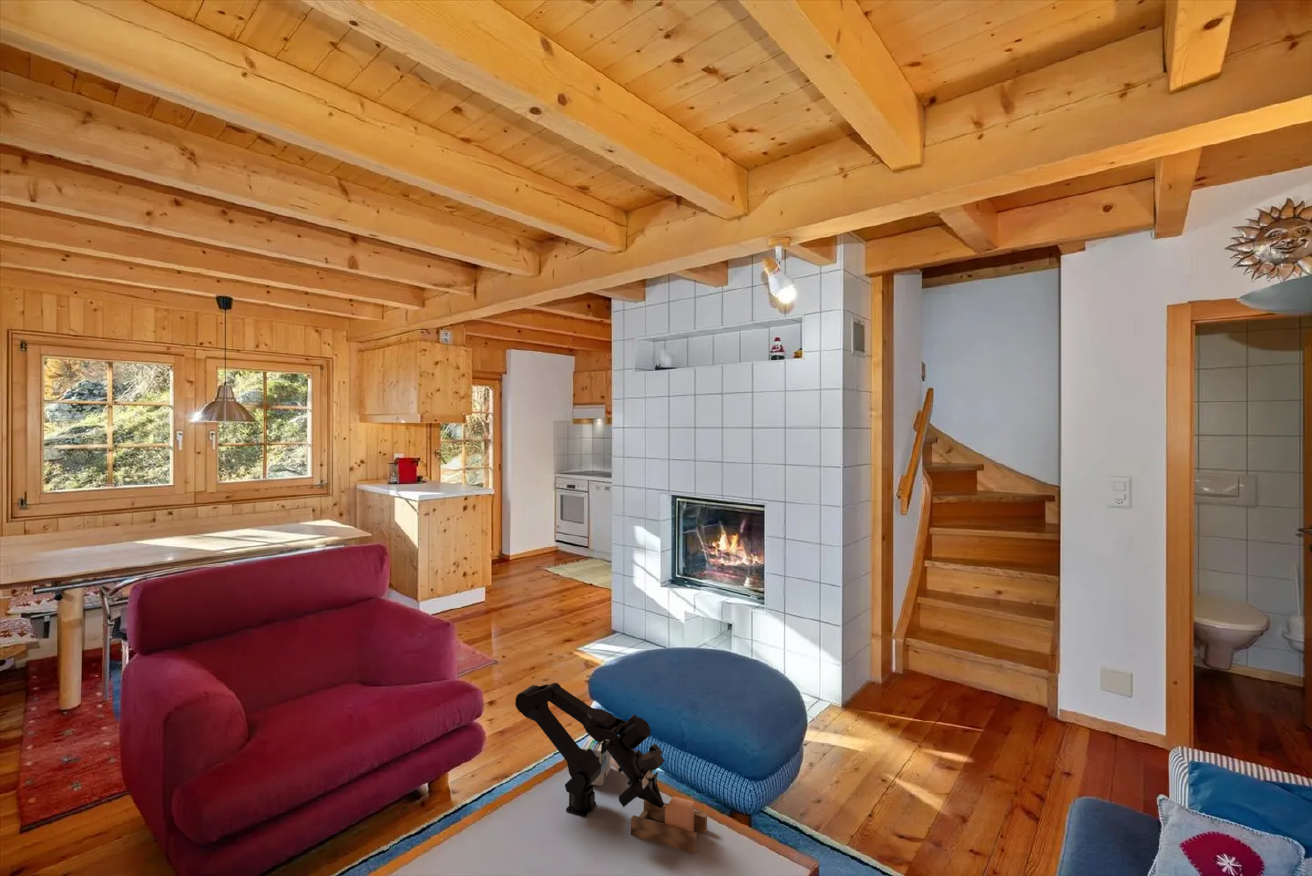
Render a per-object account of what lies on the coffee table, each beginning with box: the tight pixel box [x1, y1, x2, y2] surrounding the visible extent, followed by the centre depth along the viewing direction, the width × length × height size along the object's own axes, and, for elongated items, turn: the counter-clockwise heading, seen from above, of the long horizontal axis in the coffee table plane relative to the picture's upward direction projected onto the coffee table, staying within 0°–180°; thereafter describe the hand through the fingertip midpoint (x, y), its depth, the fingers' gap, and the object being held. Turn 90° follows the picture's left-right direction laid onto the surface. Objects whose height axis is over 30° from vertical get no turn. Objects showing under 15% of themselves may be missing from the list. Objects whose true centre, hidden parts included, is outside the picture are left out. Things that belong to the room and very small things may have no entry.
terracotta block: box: [664, 796, 695, 832], centre depth 159 cm, size 6×6×8 cm
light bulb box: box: [580, 735, 612, 787], centre depth 187 cm, size 11×7×11 cm, turn 168°
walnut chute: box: [630, 800, 708, 855], centre depth 160 cm, size 18×10×4 cm, turn 67°
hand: (662, 806), depth 161 cm, fingers closed
